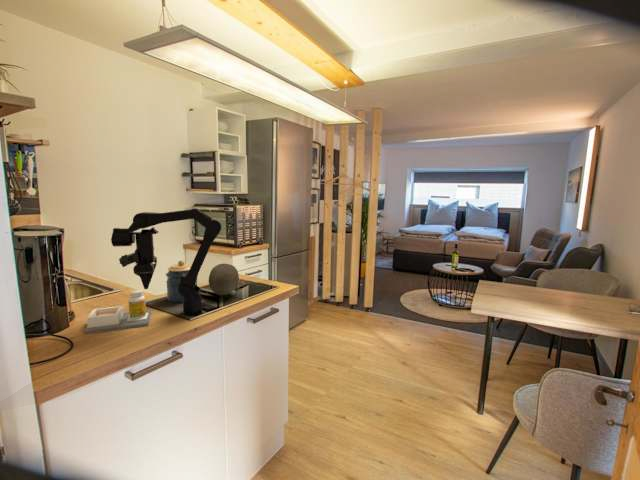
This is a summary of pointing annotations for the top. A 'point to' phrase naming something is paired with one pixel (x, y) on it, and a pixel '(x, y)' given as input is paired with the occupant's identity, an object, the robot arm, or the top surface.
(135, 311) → the supplement bottle
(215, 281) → the cantaloupe
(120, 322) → the breaker panel
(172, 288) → the canister
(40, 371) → the top surface
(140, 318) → the rest pad
